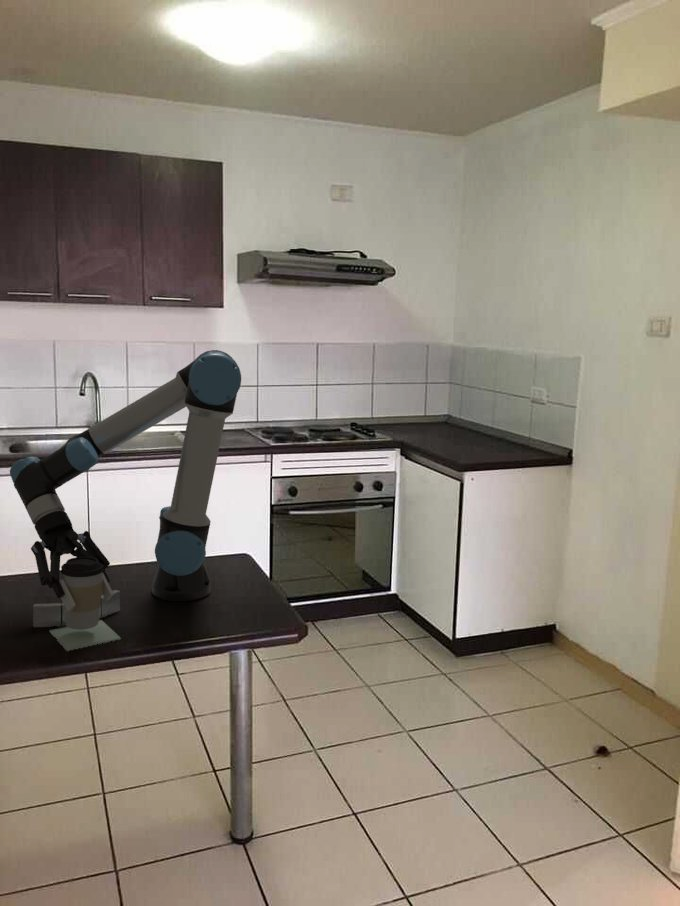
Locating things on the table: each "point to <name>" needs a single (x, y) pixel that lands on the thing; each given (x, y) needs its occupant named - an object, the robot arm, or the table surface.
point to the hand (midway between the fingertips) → (91, 602)
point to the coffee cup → (83, 591)
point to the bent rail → (56, 613)
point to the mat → (84, 636)
